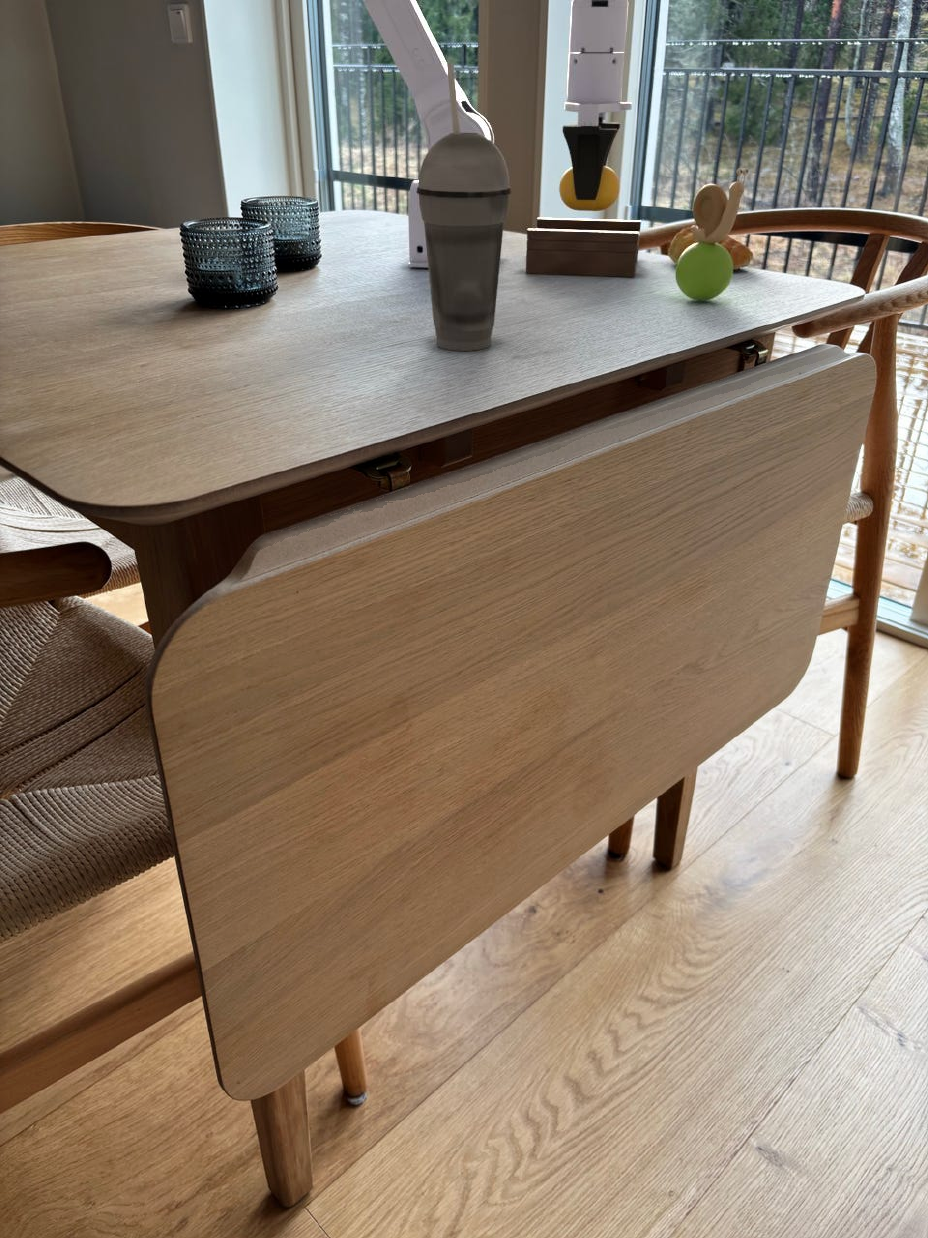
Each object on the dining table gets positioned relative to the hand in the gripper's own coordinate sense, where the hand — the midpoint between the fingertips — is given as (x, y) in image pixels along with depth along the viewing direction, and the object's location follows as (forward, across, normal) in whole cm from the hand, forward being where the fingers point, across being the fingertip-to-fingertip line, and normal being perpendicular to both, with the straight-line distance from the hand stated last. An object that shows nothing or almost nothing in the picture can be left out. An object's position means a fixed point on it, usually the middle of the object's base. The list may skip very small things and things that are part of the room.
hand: (587, 196), depth 104 cm
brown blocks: (+7, 0, 0) cm, 7 cm away
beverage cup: (+8, -37, +7) cm, 38 cm away
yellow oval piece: (+1, 0, 0) cm, 1 cm away
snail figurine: (+8, -16, -13) cm, 22 cm away
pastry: (+8, +4, -14) cm, 16 cm away
